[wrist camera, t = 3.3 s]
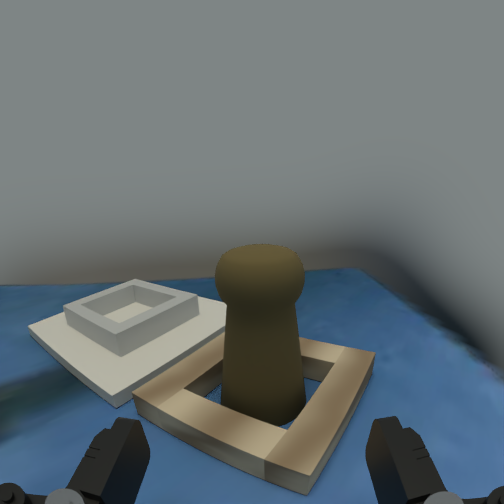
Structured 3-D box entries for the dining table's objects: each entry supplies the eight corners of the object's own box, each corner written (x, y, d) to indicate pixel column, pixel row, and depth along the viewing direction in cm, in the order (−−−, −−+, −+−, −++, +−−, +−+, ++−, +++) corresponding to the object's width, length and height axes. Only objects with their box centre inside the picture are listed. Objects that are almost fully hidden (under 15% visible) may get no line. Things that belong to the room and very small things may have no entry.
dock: (30, 335, 29) (22, 307, 28) (142, 290, 44) (139, 267, 43) (116, 408, 20) (104, 370, 19) (250, 318, 34) (249, 289, 33)
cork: (278, 367, 25) (277, 233, 22) (323, 407, 20) (334, 250, 17) (208, 389, 23) (192, 244, 20) (242, 440, 17) (230, 269, 15)
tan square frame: (138, 413, 19) (131, 392, 19) (239, 341, 30) (238, 322, 29) (306, 495, 13) (310, 475, 12) (371, 373, 23) (375, 352, 23)
